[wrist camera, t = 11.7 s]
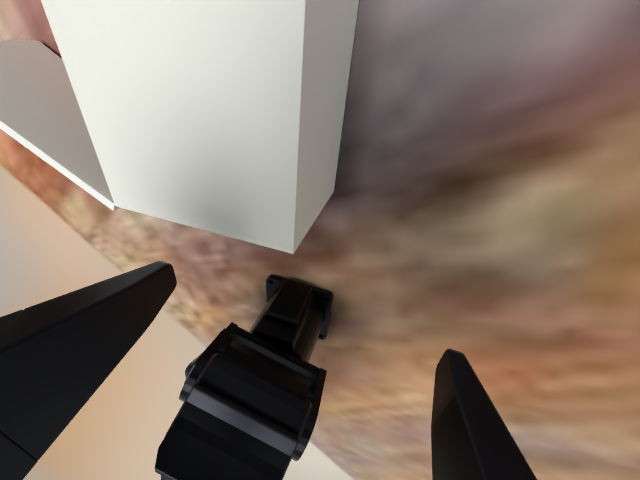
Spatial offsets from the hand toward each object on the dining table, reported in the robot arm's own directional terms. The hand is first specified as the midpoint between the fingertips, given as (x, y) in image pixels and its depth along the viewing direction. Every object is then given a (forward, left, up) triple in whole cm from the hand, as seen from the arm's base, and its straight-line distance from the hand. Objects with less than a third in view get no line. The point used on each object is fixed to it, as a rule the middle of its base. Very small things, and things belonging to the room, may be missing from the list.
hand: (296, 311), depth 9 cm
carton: (+5, +7, -13) cm, 16 cm away
